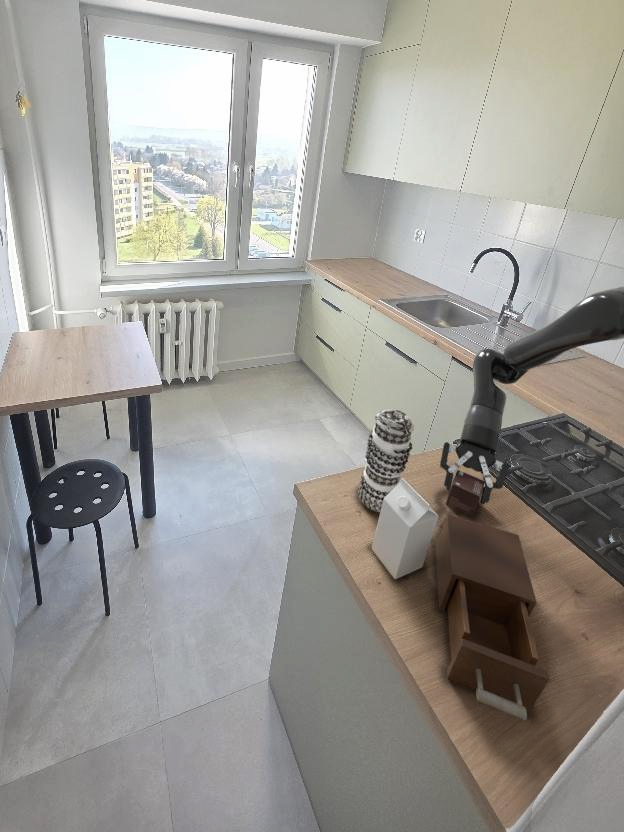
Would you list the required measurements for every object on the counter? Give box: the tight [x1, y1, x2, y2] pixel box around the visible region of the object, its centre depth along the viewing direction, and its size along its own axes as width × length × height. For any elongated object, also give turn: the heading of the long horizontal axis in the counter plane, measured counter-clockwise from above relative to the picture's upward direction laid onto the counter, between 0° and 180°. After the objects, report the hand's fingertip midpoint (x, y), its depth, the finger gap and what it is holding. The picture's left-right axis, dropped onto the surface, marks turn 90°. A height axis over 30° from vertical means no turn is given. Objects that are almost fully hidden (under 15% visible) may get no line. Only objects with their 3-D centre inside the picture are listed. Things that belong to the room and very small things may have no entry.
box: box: [445, 469, 485, 518], centre depth 97 cm, size 6×6×7 cm
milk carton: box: [371, 477, 440, 580], centre depth 81 cm, size 7×7×19 cm
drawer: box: [446, 578, 551, 721], centre depth 66 cm, size 17×11×9 cm
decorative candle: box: [357, 408, 416, 513], centre depth 94 cm, size 9×9×25 cm
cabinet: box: [435, 513, 537, 618], centre depth 78 cm, size 14×13×11 cm
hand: (464, 496), depth 96 cm, fingers open, 6 cm apart
